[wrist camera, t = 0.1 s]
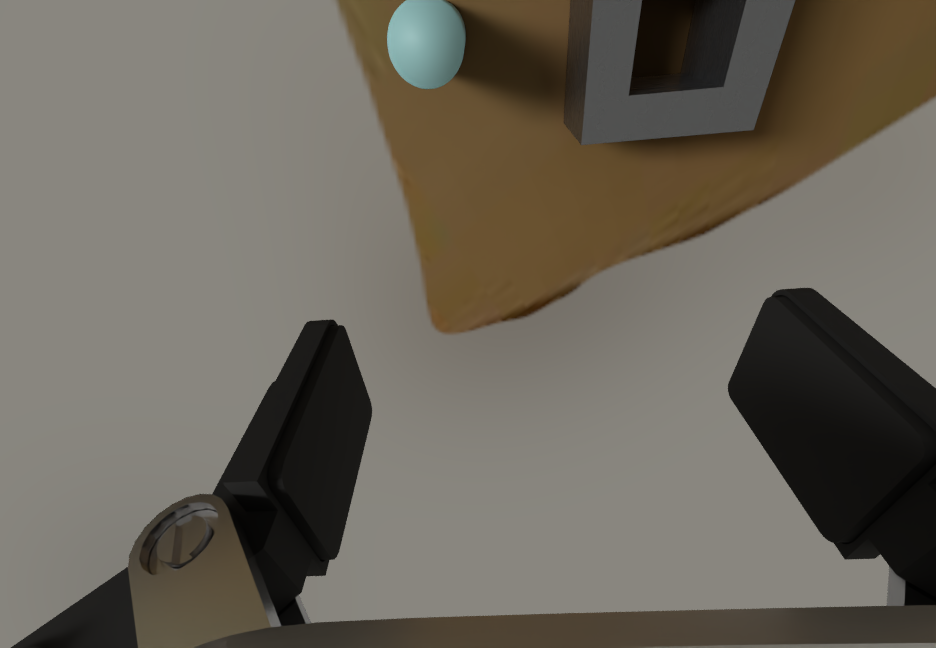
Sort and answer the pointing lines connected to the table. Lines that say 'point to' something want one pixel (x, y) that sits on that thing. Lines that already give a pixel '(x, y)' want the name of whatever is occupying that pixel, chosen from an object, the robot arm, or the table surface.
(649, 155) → the table surface
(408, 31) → the plug
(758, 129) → the table surface
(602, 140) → the socket
